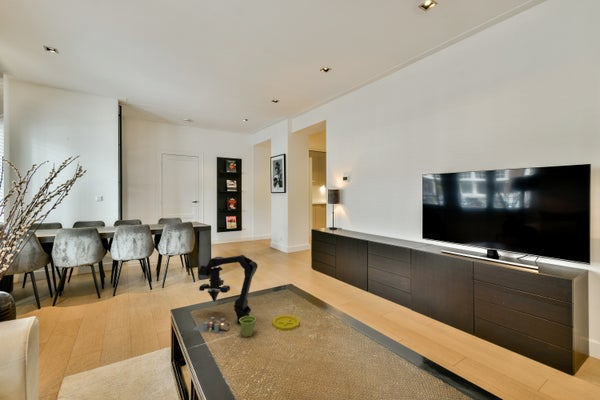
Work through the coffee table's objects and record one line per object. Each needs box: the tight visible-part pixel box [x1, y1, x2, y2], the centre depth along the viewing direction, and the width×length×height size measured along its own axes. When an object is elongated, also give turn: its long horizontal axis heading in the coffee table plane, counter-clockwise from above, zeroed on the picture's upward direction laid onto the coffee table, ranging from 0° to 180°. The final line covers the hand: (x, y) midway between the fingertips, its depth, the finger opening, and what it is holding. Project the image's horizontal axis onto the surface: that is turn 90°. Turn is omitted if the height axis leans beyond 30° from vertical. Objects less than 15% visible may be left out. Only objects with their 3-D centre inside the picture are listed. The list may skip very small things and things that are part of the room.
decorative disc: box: [271, 314, 301, 332], centre depth 167 cm, size 17×18×2 cm
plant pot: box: [239, 315, 257, 338], centre depth 153 cm, size 9×9×9 cm
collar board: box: [192, 316, 232, 335], centre depth 157 cm, size 20×10×6 cm, turn 77°
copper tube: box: [207, 320, 231, 332], centre depth 156 cm, size 12×4×4 cm, turn 78°
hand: (214, 301), depth 170 cm, fingers closed
